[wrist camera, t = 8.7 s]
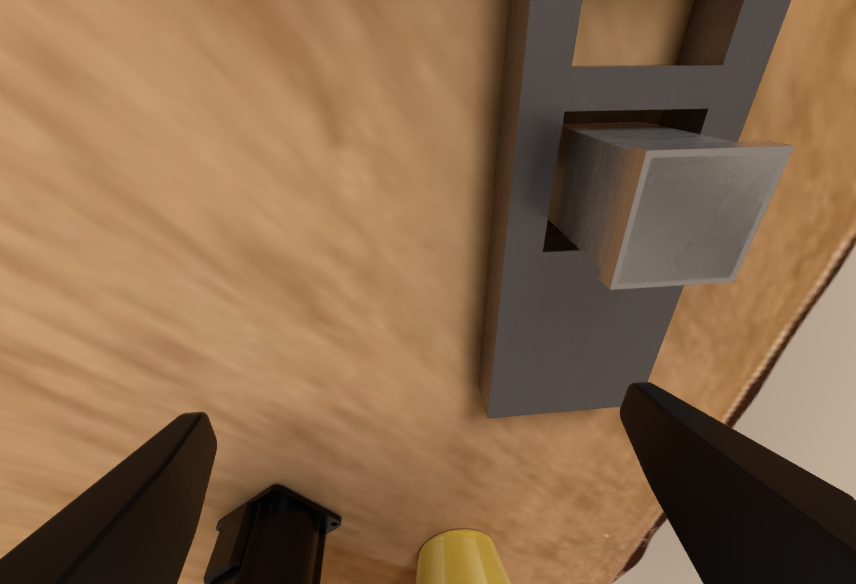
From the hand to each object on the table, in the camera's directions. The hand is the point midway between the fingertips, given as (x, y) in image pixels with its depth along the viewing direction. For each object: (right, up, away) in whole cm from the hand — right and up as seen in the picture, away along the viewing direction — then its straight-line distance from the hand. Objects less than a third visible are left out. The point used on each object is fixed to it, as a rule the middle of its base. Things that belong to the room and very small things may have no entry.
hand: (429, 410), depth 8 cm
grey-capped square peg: (+7, +8, +10) cm, 15 cm away
